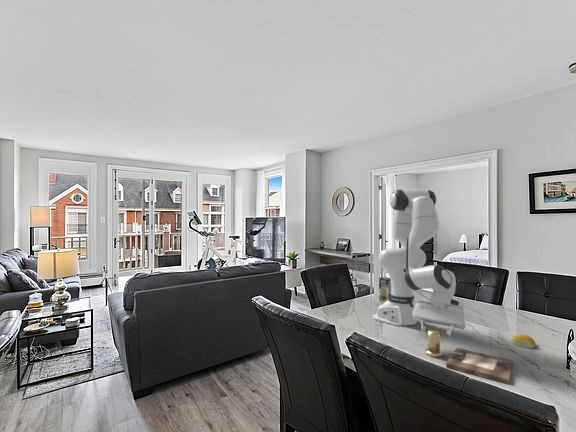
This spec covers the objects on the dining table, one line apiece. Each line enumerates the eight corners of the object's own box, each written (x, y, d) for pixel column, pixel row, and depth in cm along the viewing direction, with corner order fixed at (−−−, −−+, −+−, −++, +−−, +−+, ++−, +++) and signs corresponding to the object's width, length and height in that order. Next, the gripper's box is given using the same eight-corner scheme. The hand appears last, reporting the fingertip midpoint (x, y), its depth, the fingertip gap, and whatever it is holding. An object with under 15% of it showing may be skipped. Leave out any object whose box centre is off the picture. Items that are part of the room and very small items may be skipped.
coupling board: (446, 367, 116) (446, 358, 116) (456, 351, 130) (456, 343, 130) (508, 384, 104) (508, 374, 104) (512, 364, 118) (512, 355, 118)
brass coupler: (423, 354, 127) (423, 332, 127) (427, 349, 132) (427, 328, 132) (440, 359, 123) (440, 336, 123) (444, 353, 127) (444, 331, 128)
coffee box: (378, 301, 207) (378, 277, 207) (387, 301, 209) (386, 276, 209) (387, 305, 198) (387, 279, 198) (396, 304, 201) (396, 279, 201)
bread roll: (534, 343, 138) (534, 334, 138) (535, 350, 131) (535, 340, 131) (511, 339, 143) (511, 330, 143) (511, 345, 136) (511, 336, 136)
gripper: (414, 296, 141) (407, 323, 133) (466, 303, 128) (461, 334, 120) (417, 304, 144) (411, 331, 136) (468, 312, 131) (464, 342, 123)
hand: (435, 333), depth 128 cm, fingers open, 8 cm apart
